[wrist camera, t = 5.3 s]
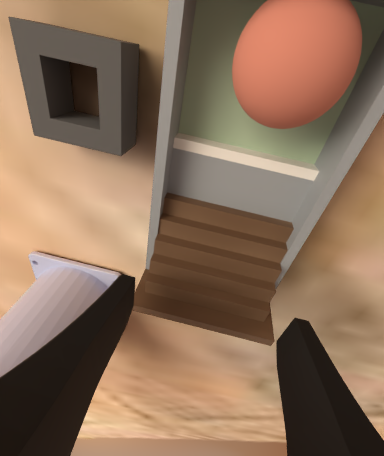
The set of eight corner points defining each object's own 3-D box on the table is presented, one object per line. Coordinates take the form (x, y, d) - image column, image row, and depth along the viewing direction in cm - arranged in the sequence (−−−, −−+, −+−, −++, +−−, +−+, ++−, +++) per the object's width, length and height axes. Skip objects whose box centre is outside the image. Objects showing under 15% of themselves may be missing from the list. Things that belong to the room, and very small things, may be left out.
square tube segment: (135, 144, 13) (120, 156, 11) (59, 125, 13) (34, 135, 12) (139, 44, 10) (120, 42, 9) (43, 22, 11) (8, 16, 9)
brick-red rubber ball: (426, -46, 6) (366, 132, 7) (332, 29, 9) (305, 136, 11) (262, -72, 6) (234, 116, 7) (233, 15, 9) (218, 125, 11)
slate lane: (265, 271, 17) (272, 329, 13) (156, 244, 17) (134, 293, 13) (417, -13, 8) (557, -70, 5) (192, -61, 8) (156, -151, 5)
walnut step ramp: (263, 275, 17) (270, 345, 13) (156, 249, 17) (129, 309, 13) (296, 213, 14) (321, 279, 10) (164, 181, 14) (132, 233, 10)
